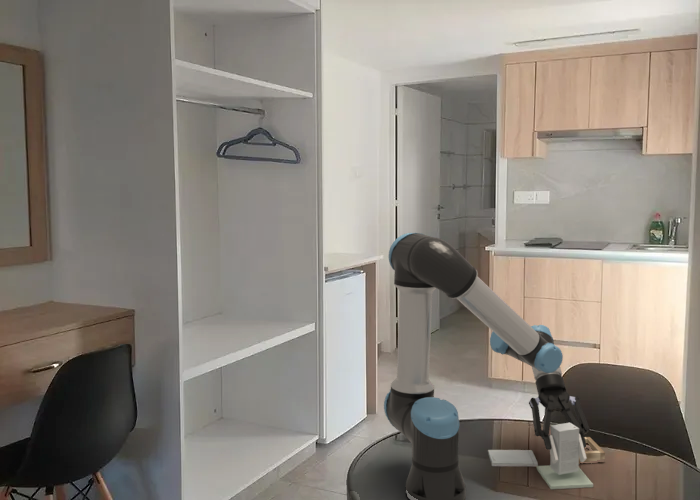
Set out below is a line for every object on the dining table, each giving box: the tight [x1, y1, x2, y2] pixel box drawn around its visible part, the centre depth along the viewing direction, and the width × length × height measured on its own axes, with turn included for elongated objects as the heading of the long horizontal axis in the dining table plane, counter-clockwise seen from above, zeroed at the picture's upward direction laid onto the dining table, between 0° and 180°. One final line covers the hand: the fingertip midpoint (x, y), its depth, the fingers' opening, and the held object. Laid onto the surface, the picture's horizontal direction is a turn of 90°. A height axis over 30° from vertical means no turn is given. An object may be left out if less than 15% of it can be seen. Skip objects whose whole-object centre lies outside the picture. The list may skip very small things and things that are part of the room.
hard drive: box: [487, 449, 539, 467], centre depth 184 cm, size 2×8×12 cm
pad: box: [536, 464, 594, 490], centre depth 173 cm, size 11×11×1 cm
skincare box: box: [549, 422, 580, 475], centre depth 172 cm, size 6×4×12 cm
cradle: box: [579, 436, 606, 463], centre depth 185 cm, size 10×10×3 cm
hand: (569, 460), depth 169 cm, fingers closed on skincare box, 7 cm apart
